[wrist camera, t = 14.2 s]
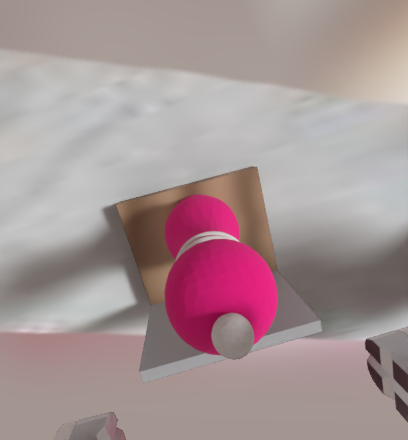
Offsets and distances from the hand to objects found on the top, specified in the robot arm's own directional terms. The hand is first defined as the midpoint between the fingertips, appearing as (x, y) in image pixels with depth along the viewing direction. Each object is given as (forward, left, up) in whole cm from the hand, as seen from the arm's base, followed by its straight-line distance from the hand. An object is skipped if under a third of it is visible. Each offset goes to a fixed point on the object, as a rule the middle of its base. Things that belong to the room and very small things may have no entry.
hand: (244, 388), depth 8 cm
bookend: (0, +3, -24) cm, 24 cm away
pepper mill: (0, 0, -22) cm, 22 cm away
